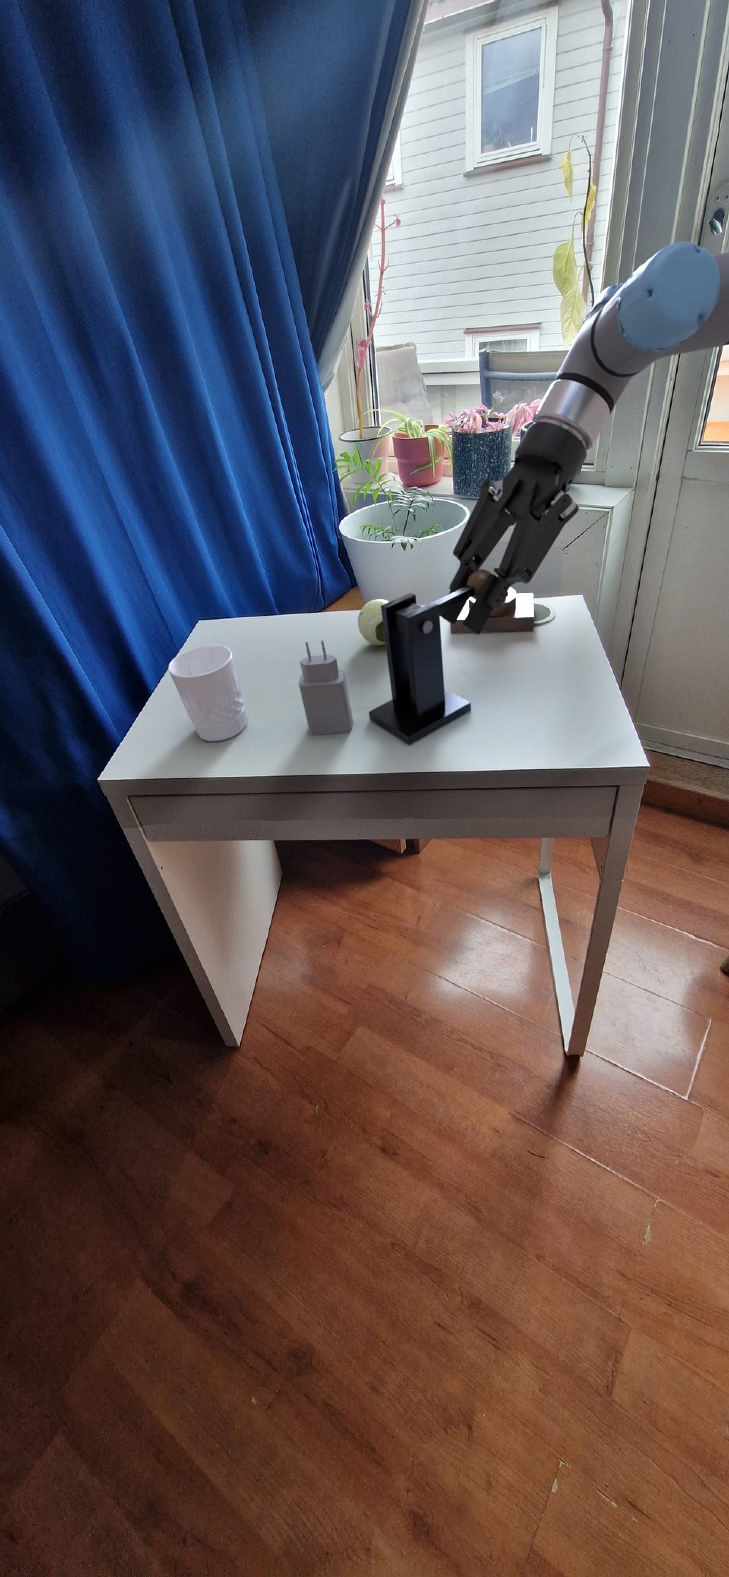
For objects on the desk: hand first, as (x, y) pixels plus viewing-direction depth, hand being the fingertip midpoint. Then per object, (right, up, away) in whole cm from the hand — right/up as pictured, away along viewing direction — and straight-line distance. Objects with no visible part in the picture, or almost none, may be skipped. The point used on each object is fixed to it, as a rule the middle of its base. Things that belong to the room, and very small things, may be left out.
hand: (458, 624), depth 79 cm
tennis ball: (-8, +2, +20) cm, 22 cm away
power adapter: (-15, -12, +4) cm, 20 cm away
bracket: (-4, -11, +3) cm, 12 cm away
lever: (-1, +1, -1) cm, 2 cm away
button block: (+8, +6, +20) cm, 23 cm away
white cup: (-30, -12, +8) cm, 33 cm away
